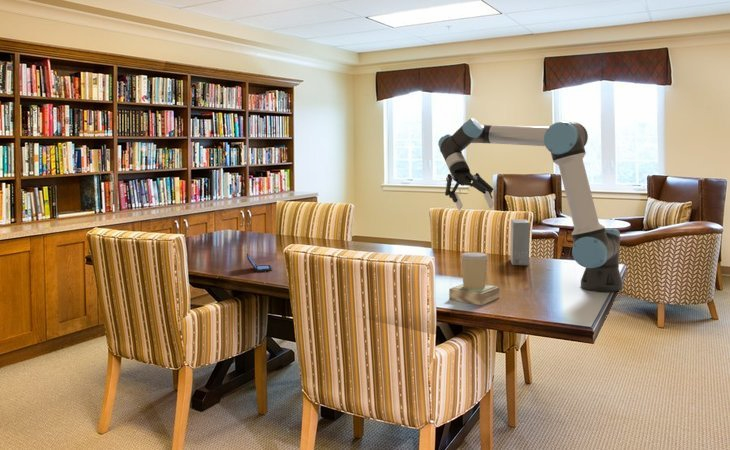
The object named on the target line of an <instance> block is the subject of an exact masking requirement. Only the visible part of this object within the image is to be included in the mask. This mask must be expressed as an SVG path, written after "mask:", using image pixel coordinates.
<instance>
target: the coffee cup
mask: <svg viewBox="0 0 730 450" xmlns="http://www.w3.org/2000/svg"><path fill="white" fill-rule="evenodd" d="M460 257H461V272H462V284H463V287H464V288H466V289H483V288H485V285H486V279H487V266H488V254H487V253H484V252H475V251H473V252H472V251H468V252H464V253H463V252H462V254H461V256H460Z"/></svg>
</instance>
